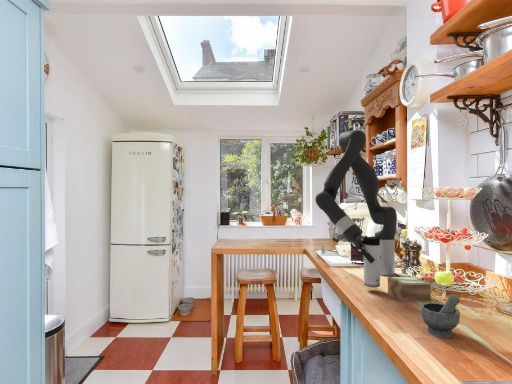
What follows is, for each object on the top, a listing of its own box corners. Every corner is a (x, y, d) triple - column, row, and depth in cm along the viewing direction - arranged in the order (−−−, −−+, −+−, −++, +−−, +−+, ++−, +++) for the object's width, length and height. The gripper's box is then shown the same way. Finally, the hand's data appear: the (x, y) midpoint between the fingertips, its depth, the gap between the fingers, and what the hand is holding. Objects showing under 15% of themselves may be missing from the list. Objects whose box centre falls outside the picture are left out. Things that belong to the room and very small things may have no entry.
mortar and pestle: (413, 327, 97) (413, 286, 97) (440, 324, 99) (440, 284, 99) (442, 344, 86) (442, 298, 86) (472, 340, 88) (472, 295, 88)
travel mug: (382, 288, 130) (382, 237, 130) (364, 287, 132) (364, 237, 132) (379, 283, 136) (379, 235, 136) (362, 282, 138) (362, 234, 138)
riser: (387, 292, 132) (387, 276, 132) (414, 291, 133) (414, 276, 133) (402, 301, 121) (402, 284, 121) (430, 300, 122) (430, 283, 122)
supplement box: (367, 263, 188) (368, 235, 188) (365, 264, 184) (365, 236, 184) (352, 261, 193) (352, 234, 193) (350, 263, 189) (350, 235, 189)
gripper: (347, 224, 133) (376, 257, 126) (361, 221, 144) (389, 252, 136) (335, 236, 137) (362, 269, 129) (350, 233, 148) (376, 263, 140)
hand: (376, 260), depth 133 cm, fingers closed on travel mug, 6 cm apart
